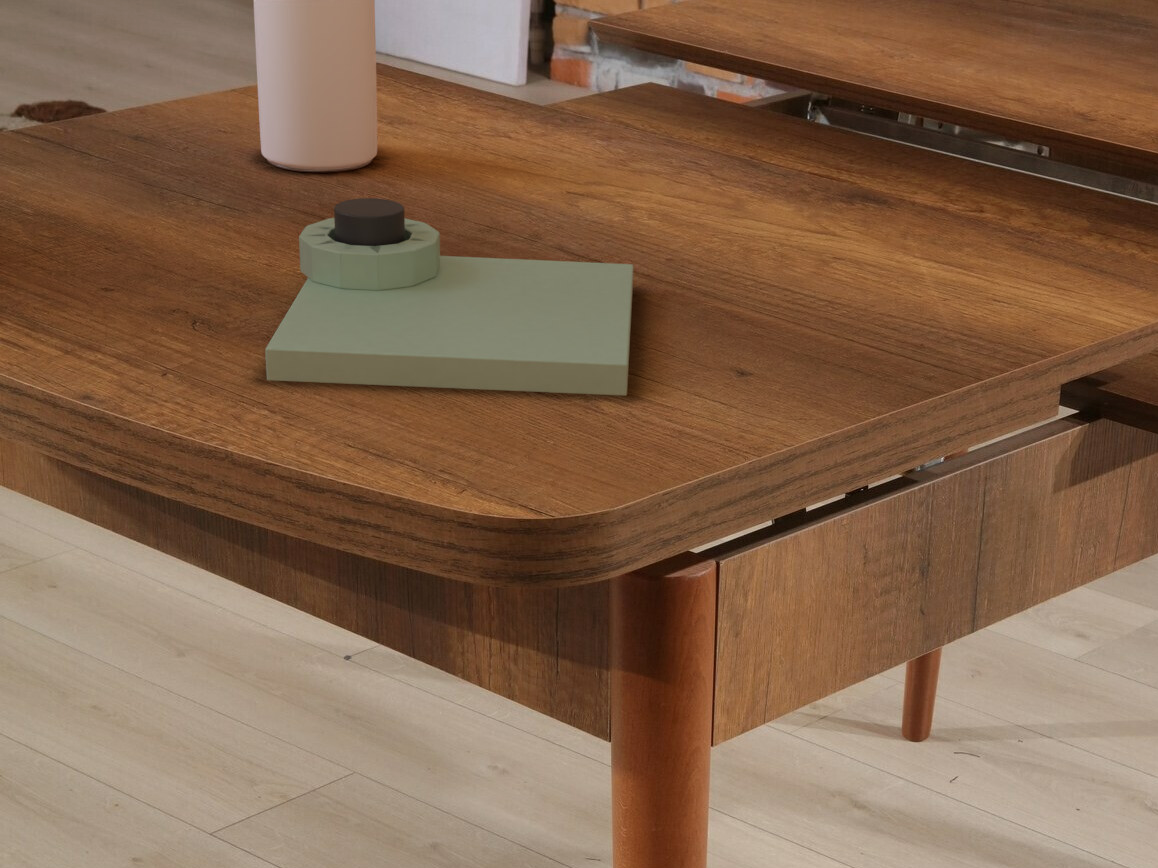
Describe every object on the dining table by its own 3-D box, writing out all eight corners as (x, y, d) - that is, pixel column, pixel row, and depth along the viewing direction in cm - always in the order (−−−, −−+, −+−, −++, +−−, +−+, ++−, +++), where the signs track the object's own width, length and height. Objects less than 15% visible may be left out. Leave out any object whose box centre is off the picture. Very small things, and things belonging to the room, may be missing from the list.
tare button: (329, 250, 76) (328, 215, 75) (341, 230, 79) (340, 196, 78) (399, 253, 76) (399, 218, 75) (409, 233, 79) (408, 199, 78)
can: (343, 179, 97) (337, -50, 92) (239, 165, 98) (226, -61, 93) (397, 154, 102) (394, -63, 97) (297, 141, 104) (289, -73, 99)
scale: (254, 381, 69) (250, 308, 68) (316, 276, 81) (314, 212, 80) (626, 397, 69) (629, 324, 68) (632, 290, 81) (635, 226, 80)
